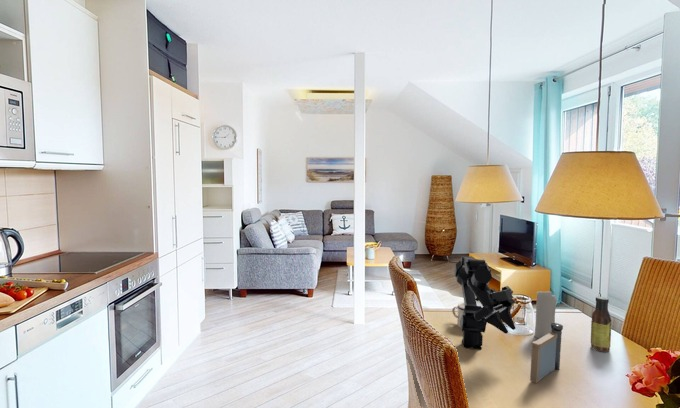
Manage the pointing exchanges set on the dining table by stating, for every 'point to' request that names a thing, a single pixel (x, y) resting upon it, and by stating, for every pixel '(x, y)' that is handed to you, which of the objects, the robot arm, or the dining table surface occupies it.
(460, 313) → the teacup with lid
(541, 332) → the notched grey upright panel
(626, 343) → the dining table surface
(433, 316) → the dining table surface
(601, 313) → the sauce bottle
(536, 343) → the gate
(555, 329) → the hinge post
